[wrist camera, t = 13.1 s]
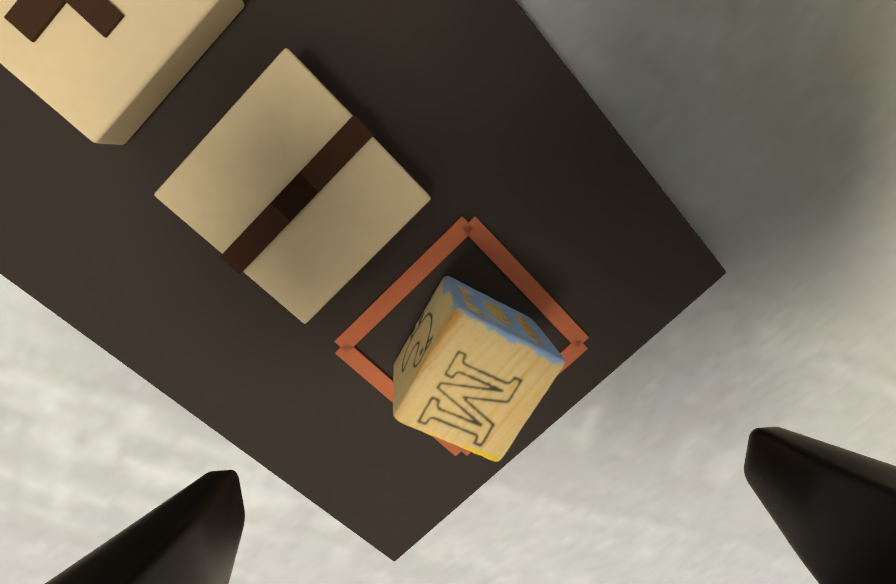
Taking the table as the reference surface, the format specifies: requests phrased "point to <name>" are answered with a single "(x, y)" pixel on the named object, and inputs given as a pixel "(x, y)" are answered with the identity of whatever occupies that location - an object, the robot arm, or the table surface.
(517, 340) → the alphabet block
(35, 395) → the table surface
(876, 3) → the table surface
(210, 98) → the word mat
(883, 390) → the table surface
